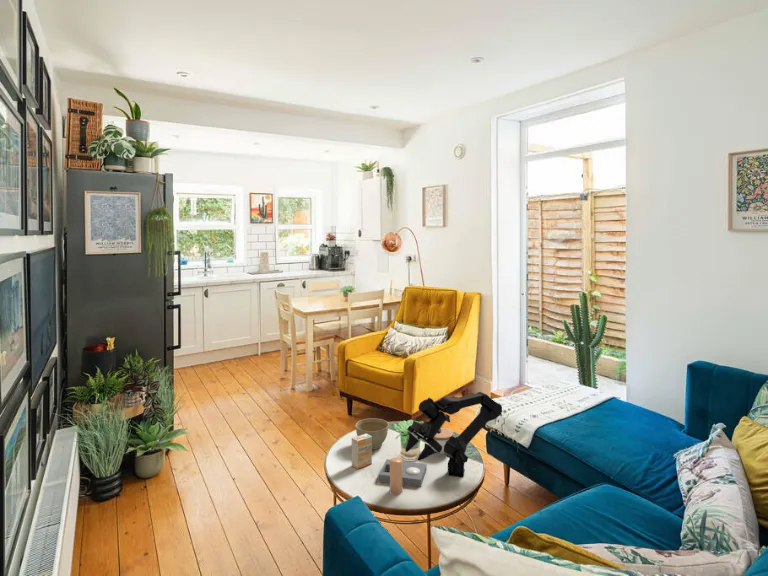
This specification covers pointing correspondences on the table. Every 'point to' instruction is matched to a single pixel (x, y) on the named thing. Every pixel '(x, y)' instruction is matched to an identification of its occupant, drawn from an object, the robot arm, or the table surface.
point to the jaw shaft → (396, 476)
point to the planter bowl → (373, 430)
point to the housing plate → (406, 473)
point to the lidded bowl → (443, 437)
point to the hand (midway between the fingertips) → (411, 455)
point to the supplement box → (361, 451)
